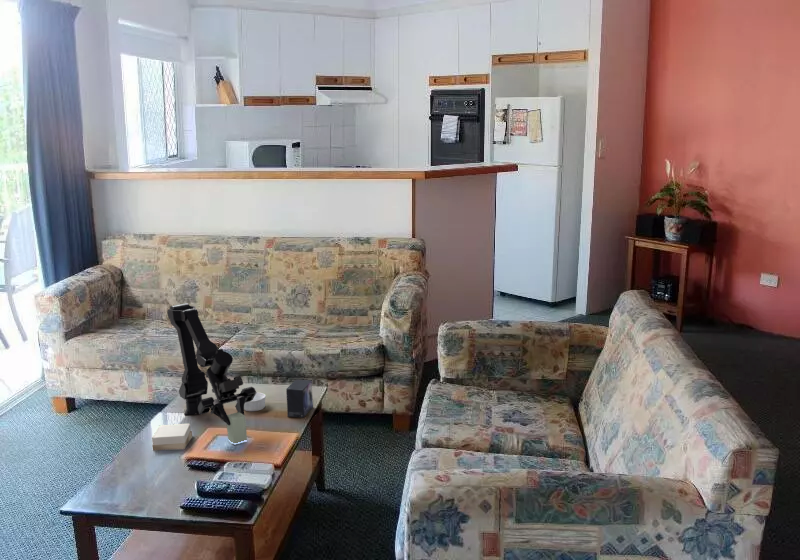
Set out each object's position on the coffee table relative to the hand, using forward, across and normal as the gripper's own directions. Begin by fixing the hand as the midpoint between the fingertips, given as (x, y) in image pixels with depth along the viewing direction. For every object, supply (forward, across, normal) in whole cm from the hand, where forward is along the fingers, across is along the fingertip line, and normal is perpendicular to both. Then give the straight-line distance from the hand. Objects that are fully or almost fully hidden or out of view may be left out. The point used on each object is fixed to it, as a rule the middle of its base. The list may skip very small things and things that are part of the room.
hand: (236, 422), depth 241 cm
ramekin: (-12, +18, +22) cm, 31 cm away
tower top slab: (-6, -17, +13) cm, 22 cm away
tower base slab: (-5, -16, +15) cm, 23 cm away
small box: (-1, +28, +11) cm, 31 cm away
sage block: (+4, 0, +5) cm, 7 cm away
